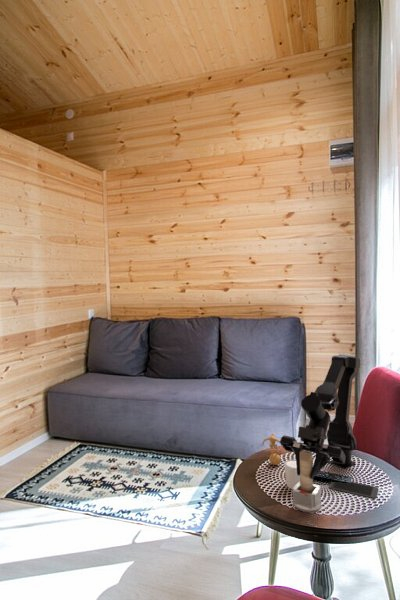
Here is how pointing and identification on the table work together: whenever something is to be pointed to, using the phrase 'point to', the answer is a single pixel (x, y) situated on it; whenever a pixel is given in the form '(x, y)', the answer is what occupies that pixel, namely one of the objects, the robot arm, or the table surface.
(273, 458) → the figurine
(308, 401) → the robot arm
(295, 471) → the white short cylinder
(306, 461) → the post
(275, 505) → the table surface
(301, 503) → the stand
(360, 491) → the cell phone
